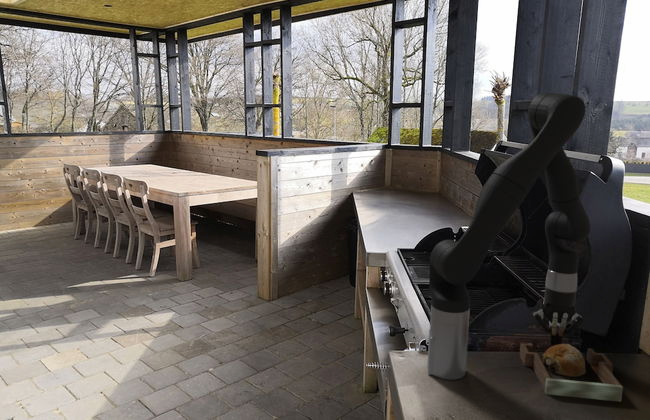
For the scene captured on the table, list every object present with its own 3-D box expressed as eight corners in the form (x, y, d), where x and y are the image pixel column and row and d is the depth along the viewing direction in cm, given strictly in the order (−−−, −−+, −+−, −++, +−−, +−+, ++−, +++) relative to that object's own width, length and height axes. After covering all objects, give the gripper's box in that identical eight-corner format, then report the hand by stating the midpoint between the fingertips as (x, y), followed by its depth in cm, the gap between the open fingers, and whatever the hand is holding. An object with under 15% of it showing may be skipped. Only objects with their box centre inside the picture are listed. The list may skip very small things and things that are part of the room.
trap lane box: (536, 393, 113) (538, 379, 112) (519, 354, 132) (520, 342, 131) (630, 402, 109) (632, 388, 109) (598, 361, 128) (600, 349, 127)
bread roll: (581, 393, 120) (599, 367, 118) (542, 372, 121) (560, 346, 119) (569, 373, 129) (586, 349, 127) (534, 354, 130) (550, 330, 128)
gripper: (538, 289, 127) (532, 350, 131) (592, 293, 125) (585, 355, 128) (531, 280, 135) (526, 338, 138) (582, 283, 132) (575, 342, 136)
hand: (554, 346), depth 133 cm, fingers closed
